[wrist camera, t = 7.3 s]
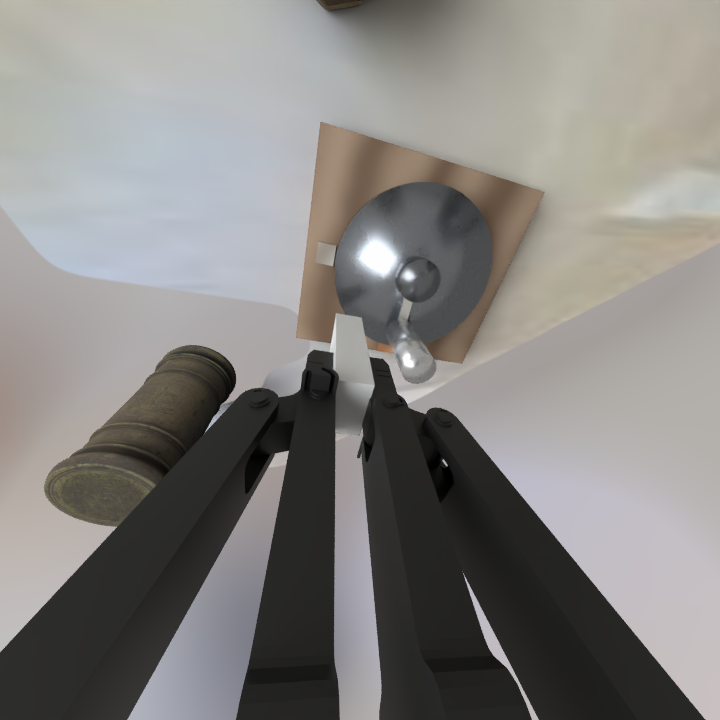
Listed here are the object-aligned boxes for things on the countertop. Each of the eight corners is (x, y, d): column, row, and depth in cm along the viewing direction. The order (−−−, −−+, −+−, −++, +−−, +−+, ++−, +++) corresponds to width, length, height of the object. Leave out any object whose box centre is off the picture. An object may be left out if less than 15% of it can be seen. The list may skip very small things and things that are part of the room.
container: (150, 352, 34) (-1, 478, 18) (217, 336, 34) (122, 450, 18) (188, 404, 38) (93, 539, 23) (247, 391, 38) (192, 518, 23)
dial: (348, 163, 23) (358, 141, 15) (508, 203, 26) (596, 204, 17) (325, 330, 31) (323, 379, 22) (450, 346, 34) (491, 396, 25)
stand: (525, 192, 29) (546, 191, 26) (453, 352, 38) (463, 364, 35) (321, 130, 24) (320, 120, 21) (298, 327, 34) (295, 339, 31)
